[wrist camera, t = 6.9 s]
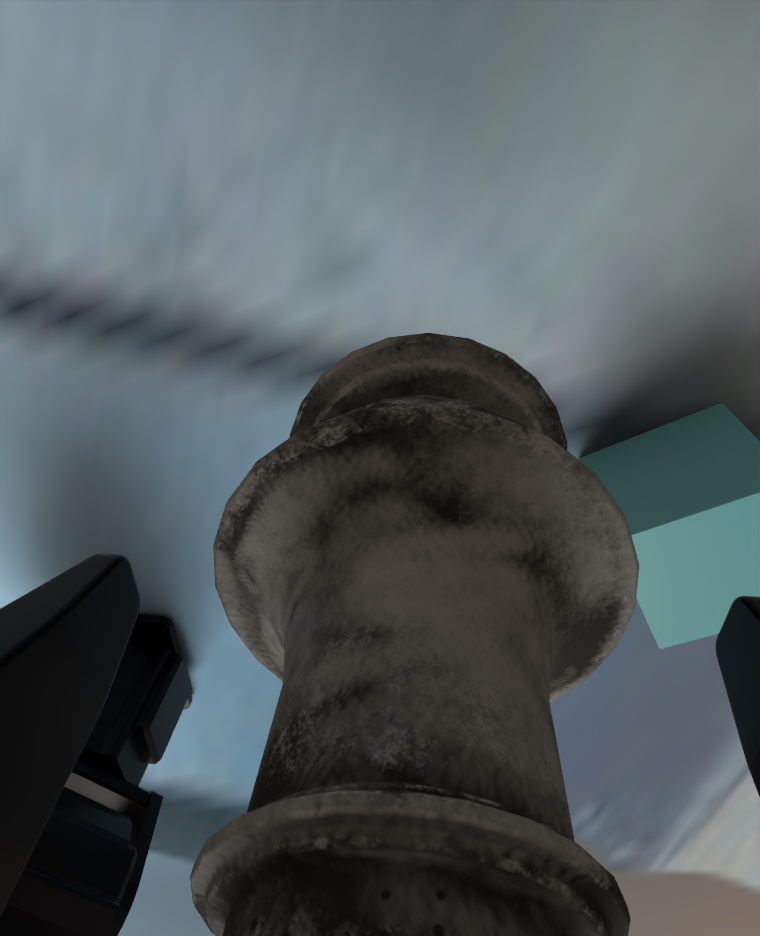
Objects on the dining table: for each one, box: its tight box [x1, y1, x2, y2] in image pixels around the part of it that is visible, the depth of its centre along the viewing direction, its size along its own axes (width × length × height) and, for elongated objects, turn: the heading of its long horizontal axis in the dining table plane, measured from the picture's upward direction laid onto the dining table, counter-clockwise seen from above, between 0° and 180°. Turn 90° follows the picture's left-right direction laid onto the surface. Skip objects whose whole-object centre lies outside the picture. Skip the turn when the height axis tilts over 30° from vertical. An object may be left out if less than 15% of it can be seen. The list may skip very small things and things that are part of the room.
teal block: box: [579, 403, 760, 649], centre depth 19 cm, size 5×5×5 cm
